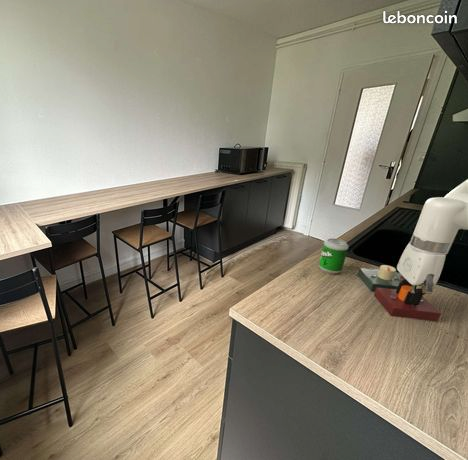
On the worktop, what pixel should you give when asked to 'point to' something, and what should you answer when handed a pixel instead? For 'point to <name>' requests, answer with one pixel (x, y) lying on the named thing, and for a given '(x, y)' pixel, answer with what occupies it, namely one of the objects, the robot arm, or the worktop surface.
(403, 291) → the seal
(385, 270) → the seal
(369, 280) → the handle plate
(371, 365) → the worktop surface
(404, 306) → the handle plate
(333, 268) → the soda can
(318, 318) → the worktop surface
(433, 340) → the worktop surface
